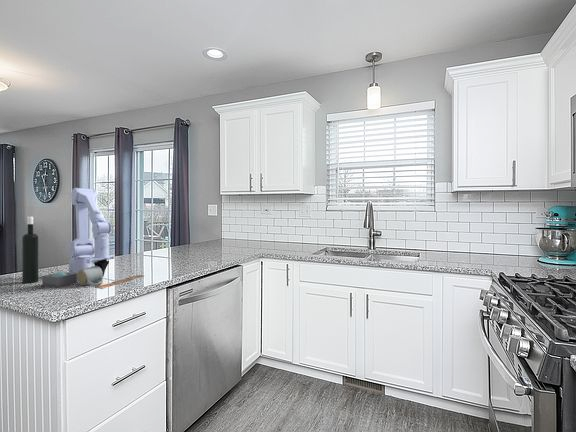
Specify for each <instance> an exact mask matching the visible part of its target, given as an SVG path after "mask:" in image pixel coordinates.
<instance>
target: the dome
mask: <svg viewBox="0 0 576 432" xmlns="http://www.w3.org/2000/svg"><path fill="white" fill-rule="evenodd" d="M64 272H65V271H61V270H60V271H57V272H55V273H56V274H54V275H52V276H58V277H60V276H64V275H68V274H65V273H64Z"/></svg>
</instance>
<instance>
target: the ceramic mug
mask: <svg viewBox="0 0 576 432" xmlns="http://www.w3.org/2000/svg"><path fill="white" fill-rule="evenodd" d="M103 278H104V276H103V272H102V270H101V268H100V267H99V266H95V265H94V266H91V267H89V268H86V269H82V270H80V271H79V272H78V273H77V283H78V284H79V285H81V286H88V285H90V286H92V287H97V286H100V285H103V283H104V282H103V281H104V280H103Z"/></svg>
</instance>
